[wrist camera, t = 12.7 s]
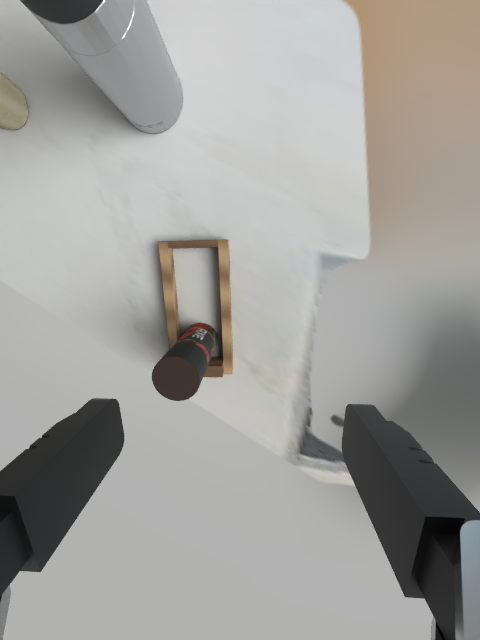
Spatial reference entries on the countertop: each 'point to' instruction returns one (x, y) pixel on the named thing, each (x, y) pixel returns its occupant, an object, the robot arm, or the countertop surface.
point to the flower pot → (11, 105)
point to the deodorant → (185, 363)
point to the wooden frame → (170, 297)
